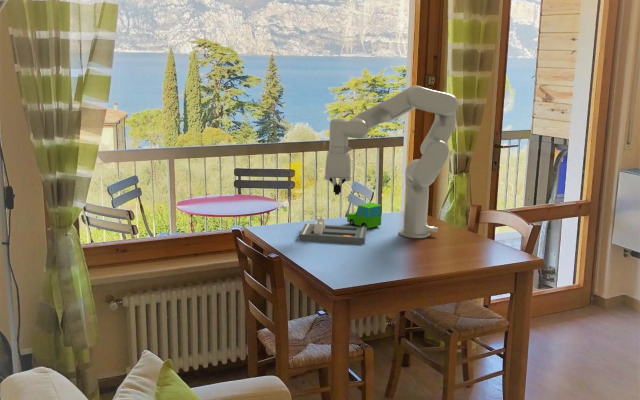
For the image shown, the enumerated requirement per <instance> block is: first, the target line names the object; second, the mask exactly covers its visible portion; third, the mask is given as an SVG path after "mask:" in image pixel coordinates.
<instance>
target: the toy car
mask: <svg viewBox="0 0 640 400" xmlns="http://www.w3.org/2000/svg"><path fill="white" fill-rule="evenodd" d="M382 210H383V205H382V204H379V203H375V202H369V203H364V204H363V203H362V204H358V207H357V209H356V211H355V212H352V213H351V212H350V213H347V215H346V216H347V217H346V221H347V222H348V223H349V226H351V225H352V226H358V227H362V226H363V227H367V230H369V229H370V228H378V226H381V225H382V215H383V211H382Z"/></svg>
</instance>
